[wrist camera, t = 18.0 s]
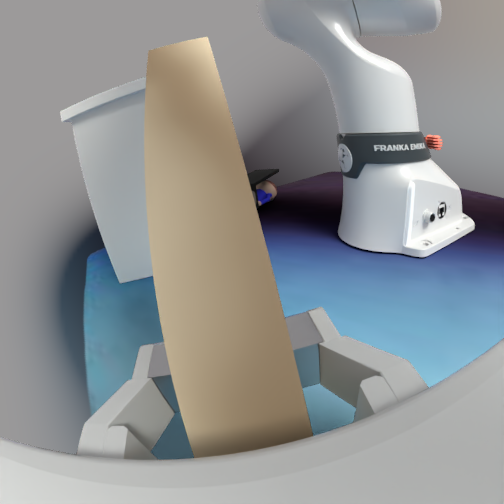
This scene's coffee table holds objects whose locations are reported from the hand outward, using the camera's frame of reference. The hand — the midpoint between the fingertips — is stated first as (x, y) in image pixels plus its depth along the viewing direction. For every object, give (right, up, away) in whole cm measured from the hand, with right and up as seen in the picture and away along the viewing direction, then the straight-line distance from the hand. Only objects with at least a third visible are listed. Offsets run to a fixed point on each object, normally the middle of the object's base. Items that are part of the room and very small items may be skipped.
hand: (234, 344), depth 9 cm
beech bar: (0, +1, -2) cm, 3 cm away
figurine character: (+2, +12, +50) cm, 52 cm away
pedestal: (-14, +3, +37) cm, 40 cm away
